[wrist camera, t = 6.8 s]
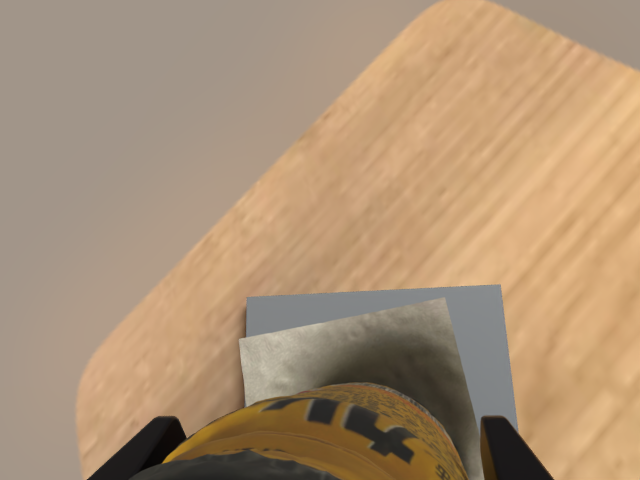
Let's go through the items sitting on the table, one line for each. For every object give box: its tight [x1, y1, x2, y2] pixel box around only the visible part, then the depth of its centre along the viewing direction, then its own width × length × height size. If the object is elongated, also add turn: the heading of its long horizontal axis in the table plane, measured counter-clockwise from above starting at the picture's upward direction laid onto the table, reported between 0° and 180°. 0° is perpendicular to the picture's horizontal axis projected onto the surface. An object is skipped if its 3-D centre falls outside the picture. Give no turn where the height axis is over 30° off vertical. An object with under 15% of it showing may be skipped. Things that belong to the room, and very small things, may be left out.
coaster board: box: [245, 285, 518, 435], centre depth 19 cm, size 11×11×1 cm
